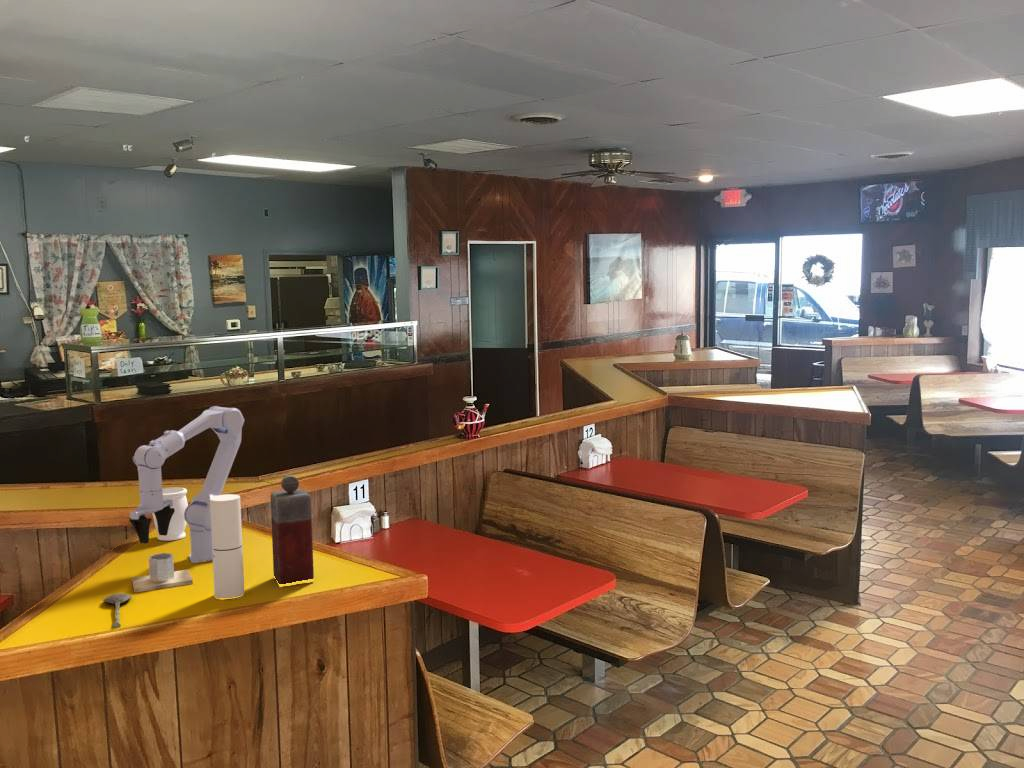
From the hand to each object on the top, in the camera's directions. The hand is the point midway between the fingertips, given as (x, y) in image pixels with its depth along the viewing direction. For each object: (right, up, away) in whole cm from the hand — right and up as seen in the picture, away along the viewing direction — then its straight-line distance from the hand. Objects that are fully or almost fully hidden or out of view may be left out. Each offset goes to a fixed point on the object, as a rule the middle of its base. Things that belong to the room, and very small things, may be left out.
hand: (153, 538), depth 235 cm
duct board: (+5, -10, -8) cm, 14 cm away
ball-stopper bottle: (+39, -10, -6) cm, 41 cm away
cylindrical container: (+27, -11, -18) cm, 34 cm away
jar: (-9, -6, +35) cm, 37 cm away
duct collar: (+5, -9, -8) cm, 13 cm away
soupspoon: (+3, -13, -29) cm, 32 cm away
